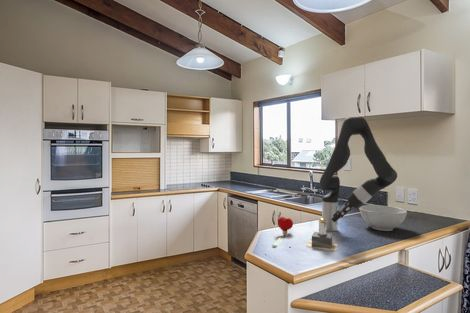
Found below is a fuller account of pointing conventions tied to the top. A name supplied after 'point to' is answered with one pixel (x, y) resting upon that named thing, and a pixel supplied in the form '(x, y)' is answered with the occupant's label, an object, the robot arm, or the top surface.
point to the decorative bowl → (383, 216)
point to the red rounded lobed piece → (285, 224)
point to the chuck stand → (322, 242)
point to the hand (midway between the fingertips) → (333, 218)
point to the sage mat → (277, 242)
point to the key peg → (322, 227)
